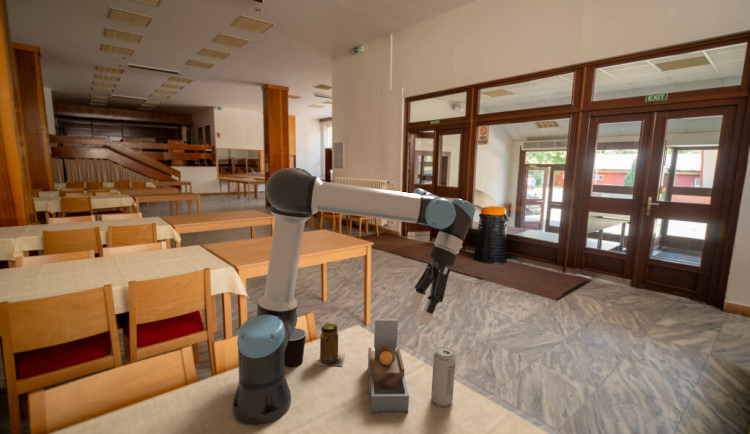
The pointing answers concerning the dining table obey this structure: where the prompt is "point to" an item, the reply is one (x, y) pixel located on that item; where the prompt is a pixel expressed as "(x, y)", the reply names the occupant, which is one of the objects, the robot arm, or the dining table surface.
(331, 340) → the condiment
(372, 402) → the grey open box
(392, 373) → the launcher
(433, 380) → the energy drink can
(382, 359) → the ball
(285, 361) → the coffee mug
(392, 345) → the gray rectangular panel
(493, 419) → the dining table surface
